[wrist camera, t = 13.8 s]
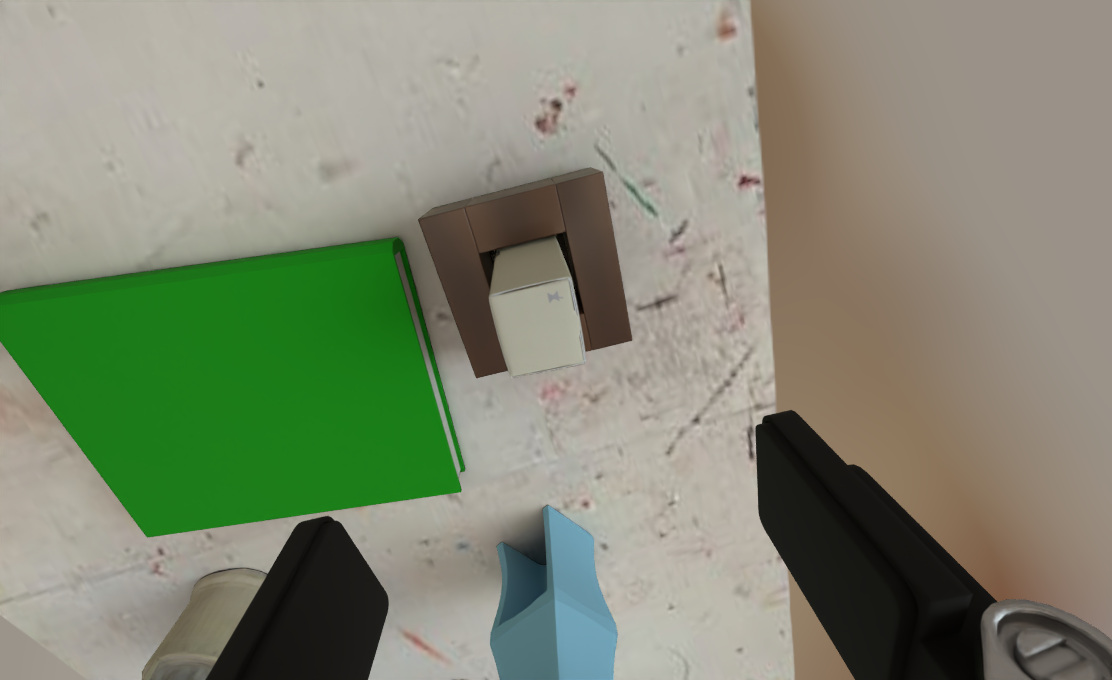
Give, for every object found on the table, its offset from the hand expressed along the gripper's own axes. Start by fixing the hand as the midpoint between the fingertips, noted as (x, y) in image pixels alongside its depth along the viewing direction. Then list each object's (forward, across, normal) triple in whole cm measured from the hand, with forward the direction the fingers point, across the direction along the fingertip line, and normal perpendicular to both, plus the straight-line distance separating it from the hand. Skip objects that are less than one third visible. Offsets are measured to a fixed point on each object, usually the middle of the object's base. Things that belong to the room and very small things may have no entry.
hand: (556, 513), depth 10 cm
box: (+26, +1, +1) cm, 26 cm away
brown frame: (+26, +1, +2) cm, 26 cm away
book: (+26, +25, +6) cm, 36 cm away
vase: (+26, +7, +32) cm, 41 cm away
